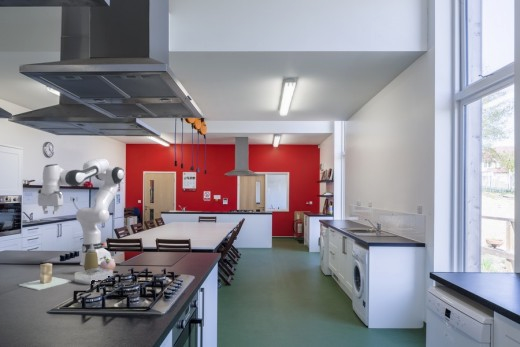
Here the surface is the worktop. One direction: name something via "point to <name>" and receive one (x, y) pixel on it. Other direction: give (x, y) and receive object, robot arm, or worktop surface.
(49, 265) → the birch peg
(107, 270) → the aluminium socket block
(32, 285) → the sage pad
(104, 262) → the decorative fruit
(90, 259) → the squeeze bottle
